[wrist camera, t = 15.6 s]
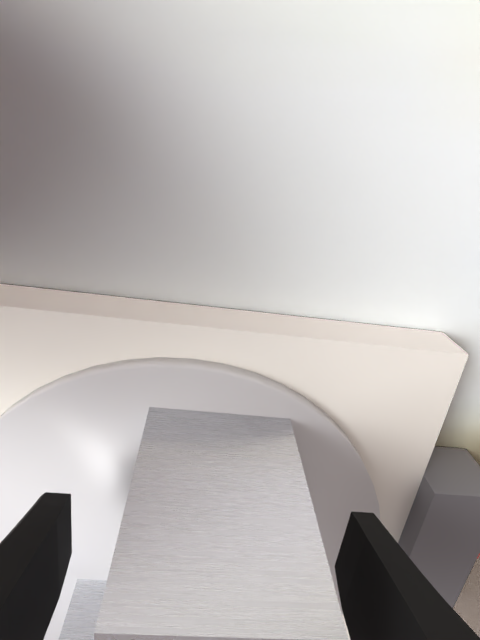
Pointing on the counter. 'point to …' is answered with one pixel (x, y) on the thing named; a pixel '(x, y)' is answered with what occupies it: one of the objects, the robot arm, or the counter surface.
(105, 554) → the scale
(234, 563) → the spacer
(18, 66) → the counter surface
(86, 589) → the block
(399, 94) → the counter surface
